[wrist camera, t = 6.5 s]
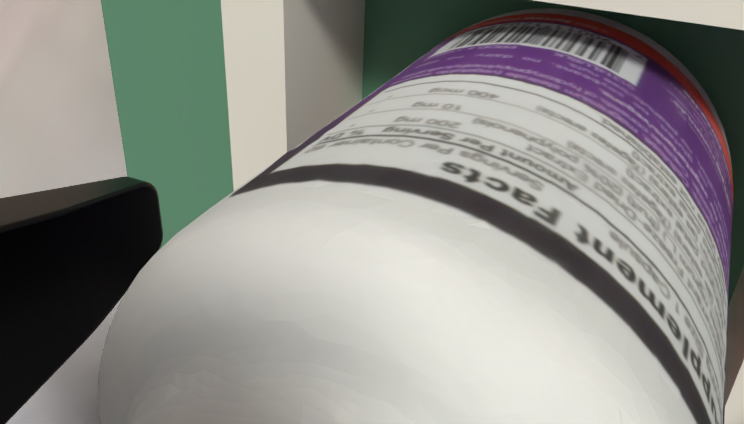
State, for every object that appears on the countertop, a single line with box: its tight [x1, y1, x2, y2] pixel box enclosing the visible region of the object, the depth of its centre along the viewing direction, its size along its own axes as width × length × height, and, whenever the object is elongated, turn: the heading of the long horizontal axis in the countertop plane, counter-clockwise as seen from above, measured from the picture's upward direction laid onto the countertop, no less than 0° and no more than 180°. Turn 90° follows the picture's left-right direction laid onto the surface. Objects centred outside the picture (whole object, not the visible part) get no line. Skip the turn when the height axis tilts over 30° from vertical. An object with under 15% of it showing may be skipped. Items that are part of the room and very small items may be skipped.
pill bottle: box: [98, 8, 733, 424], centre depth 8 cm, size 5×5×10 cm
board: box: [101, 0, 744, 424], centre depth 11 cm, size 18×14×4 cm
